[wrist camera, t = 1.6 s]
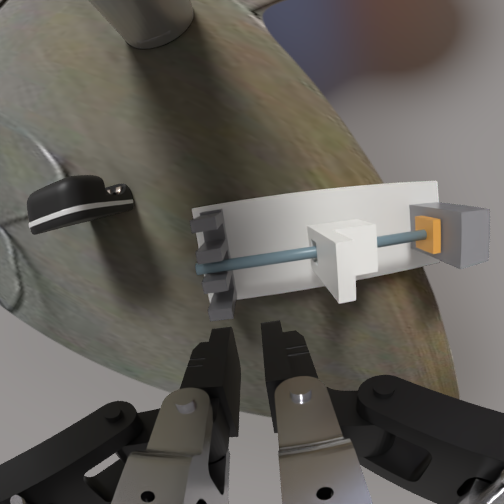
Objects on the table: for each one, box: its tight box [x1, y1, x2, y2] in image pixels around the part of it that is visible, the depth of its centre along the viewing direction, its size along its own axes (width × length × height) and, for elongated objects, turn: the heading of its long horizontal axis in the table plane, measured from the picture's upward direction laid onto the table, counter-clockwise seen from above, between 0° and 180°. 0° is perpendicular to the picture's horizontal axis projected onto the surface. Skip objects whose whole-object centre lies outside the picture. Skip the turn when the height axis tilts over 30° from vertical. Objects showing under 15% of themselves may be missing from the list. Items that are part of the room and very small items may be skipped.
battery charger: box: [27, 175, 134, 235], centre depth 22 cm, size 7×4×11 cm, turn 99°
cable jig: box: [190, 181, 490, 321], centre depth 23 cm, size 10×28×10 cm, turn 99°
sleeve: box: [307, 219, 378, 304], centre depth 20 cm, size 4×5×8 cm
